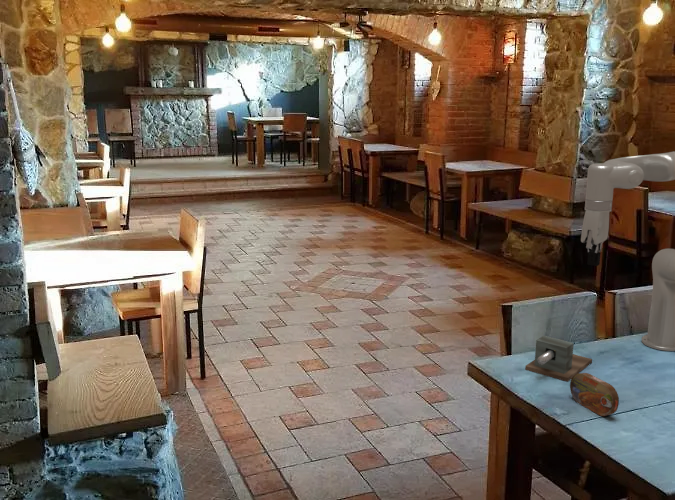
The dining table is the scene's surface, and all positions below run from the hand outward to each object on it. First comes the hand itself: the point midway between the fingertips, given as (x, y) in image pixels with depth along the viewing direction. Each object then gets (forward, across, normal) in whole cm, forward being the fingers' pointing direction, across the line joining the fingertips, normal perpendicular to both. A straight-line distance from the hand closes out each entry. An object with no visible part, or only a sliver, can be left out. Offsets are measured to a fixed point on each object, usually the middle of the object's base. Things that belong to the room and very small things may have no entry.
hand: (593, 264), depth 206 cm
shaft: (+25, +22, -2) cm, 33 cm away
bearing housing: (+29, +14, -2) cm, 32 cm away
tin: (+29, +35, +16) cm, 48 cm away
